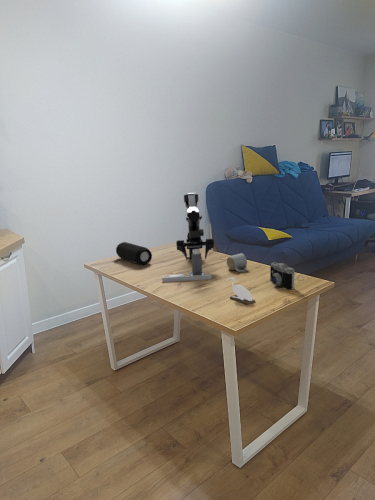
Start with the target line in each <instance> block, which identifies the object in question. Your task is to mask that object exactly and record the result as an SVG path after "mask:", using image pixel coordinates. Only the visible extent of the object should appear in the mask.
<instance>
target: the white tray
mask: <svg viewBox="0 0 375 500" xmlns="http://www.w3.org/2000/svg"><path fill="white" fill-rule="evenodd" d="M205 273H206V272H205V271H202V275H194V276H193V274H192V272H188V274H185V275H184V274H183V273H181V274H168V276H165V275H162V277H161V279H162V280H161V281H162V282H164V283H165V282H166V283H167V282H169V283H170V282H184V281H185V282H186V281H200V280H201V281H202V280H205V281H206V280H212V273H210V272H209V273H208V274H205Z"/></svg>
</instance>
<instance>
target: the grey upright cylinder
mask: <svg viewBox="0 0 375 500" xmlns="http://www.w3.org/2000/svg"><path fill="white" fill-rule="evenodd" d="M201 257H202V253H201V248H199V249H193V253H192V260H191V268H192V269H191V271H192V274H193V276H194V275H202V272H203V267H202V265H203V263H202V259H201Z"/></svg>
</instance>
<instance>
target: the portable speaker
mask: <svg viewBox="0 0 375 500" xmlns="http://www.w3.org/2000/svg"><path fill="white" fill-rule="evenodd" d="M115 253H116V254H117V256H118V258H120V259H122V258H123V260H125V259H126V261H128V262H132V263H134V262H135V263H134V264H138V265H140V266H143V265H148V264H149V263H151V261H152V259H153V254H152V251H151V250H150V249H149V248H147V247H144V246H140V245H138V244H134V243H130V242H126V241H122V242H120V243H119V244H117V246H116V247H115Z"/></svg>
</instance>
